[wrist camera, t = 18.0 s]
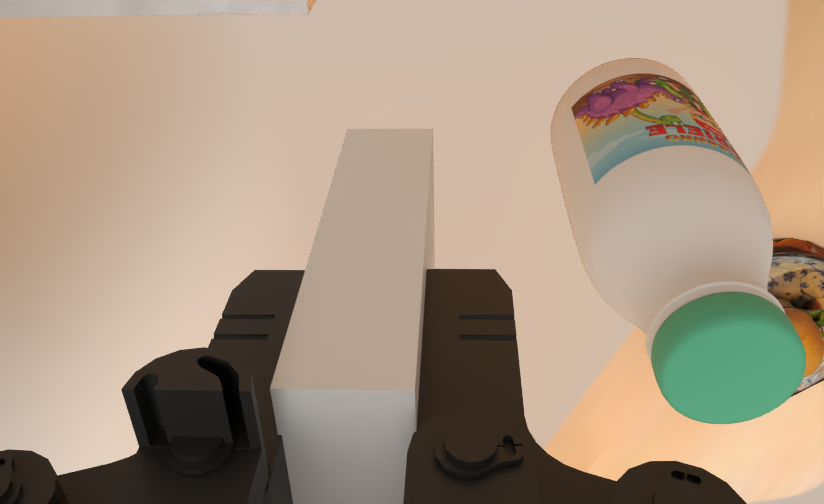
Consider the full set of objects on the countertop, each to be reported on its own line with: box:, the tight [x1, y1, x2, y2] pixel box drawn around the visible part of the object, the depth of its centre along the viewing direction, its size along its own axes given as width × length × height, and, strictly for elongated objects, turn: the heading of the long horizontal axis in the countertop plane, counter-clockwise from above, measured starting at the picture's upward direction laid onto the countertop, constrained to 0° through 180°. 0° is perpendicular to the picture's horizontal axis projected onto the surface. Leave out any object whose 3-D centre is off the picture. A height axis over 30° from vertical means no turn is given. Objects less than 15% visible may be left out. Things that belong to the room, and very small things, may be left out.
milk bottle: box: [551, 58, 806, 424], centre depth 33 cm, size 8×8×20 cm
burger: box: [767, 238, 824, 397], centre depth 45 cm, size 12×12×8 cm
